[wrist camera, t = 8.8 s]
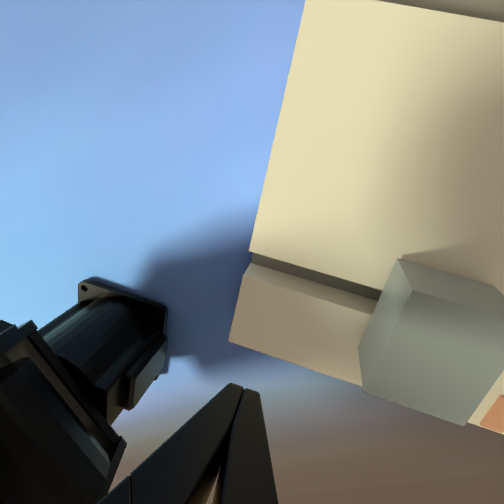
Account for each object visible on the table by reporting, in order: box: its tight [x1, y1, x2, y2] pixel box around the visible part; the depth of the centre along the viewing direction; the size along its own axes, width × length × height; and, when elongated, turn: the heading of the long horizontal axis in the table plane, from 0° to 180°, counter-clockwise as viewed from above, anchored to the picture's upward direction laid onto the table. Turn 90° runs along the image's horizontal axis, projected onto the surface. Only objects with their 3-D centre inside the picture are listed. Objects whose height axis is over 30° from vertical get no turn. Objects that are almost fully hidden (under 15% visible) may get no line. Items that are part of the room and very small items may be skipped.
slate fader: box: [358, 258, 504, 427], centre depth 14 cm, size 4×5×5 cm
